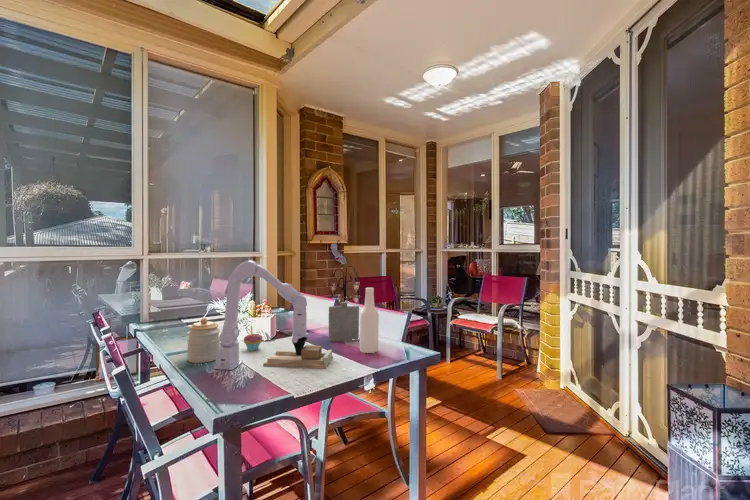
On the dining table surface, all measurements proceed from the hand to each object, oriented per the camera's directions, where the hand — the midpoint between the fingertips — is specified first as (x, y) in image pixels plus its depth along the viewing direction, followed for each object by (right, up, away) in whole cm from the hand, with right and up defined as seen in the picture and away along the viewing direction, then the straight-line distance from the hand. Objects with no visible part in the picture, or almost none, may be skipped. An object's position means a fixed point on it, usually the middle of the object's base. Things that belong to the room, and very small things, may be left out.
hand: (299, 354), depth 157 cm
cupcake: (-26, -2, +17) cm, 31 cm away
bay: (0, -3, 0) cm, 3 cm away
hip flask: (+16, -3, +36) cm, 39 cm away
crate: (+5, -2, 0) cm, 6 cm away
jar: (-42, -3, +3) cm, 42 cm away
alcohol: (+29, -3, +17) cm, 34 cm away
